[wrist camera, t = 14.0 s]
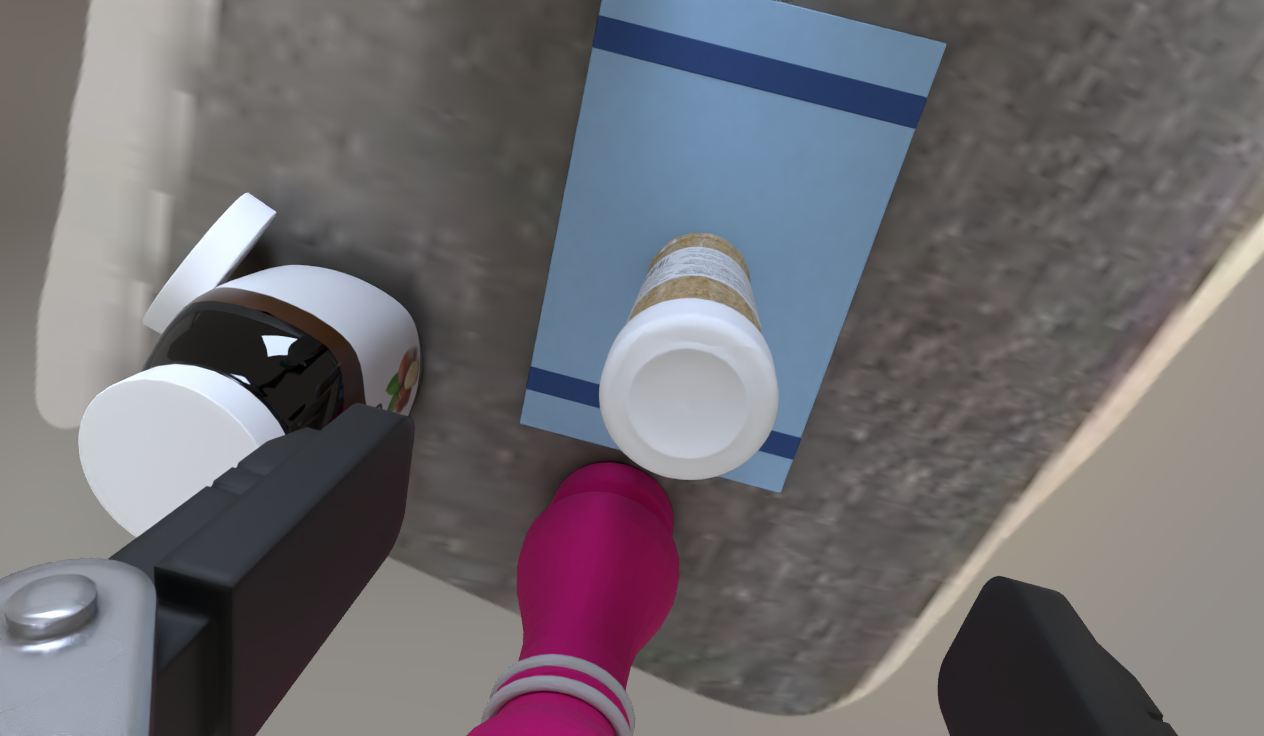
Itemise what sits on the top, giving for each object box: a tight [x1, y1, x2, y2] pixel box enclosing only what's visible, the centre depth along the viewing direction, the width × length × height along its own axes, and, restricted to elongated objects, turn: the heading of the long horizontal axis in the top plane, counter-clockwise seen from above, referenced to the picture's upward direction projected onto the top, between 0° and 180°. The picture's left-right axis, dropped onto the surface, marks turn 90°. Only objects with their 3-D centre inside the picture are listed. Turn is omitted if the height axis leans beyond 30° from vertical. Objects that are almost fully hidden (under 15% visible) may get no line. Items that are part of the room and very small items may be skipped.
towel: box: [520, 0, 946, 493], centre depth 29 cm, size 20×13×1 cm, turn 167°
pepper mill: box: [467, 462, 679, 736], centre depth 25 cm, size 7×7×20 cm
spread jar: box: [78, 193, 422, 537], centre depth 27 cm, size 12×11×12 cm
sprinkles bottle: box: [599, 233, 779, 480], centre depth 23 cm, size 5×5×14 cm
